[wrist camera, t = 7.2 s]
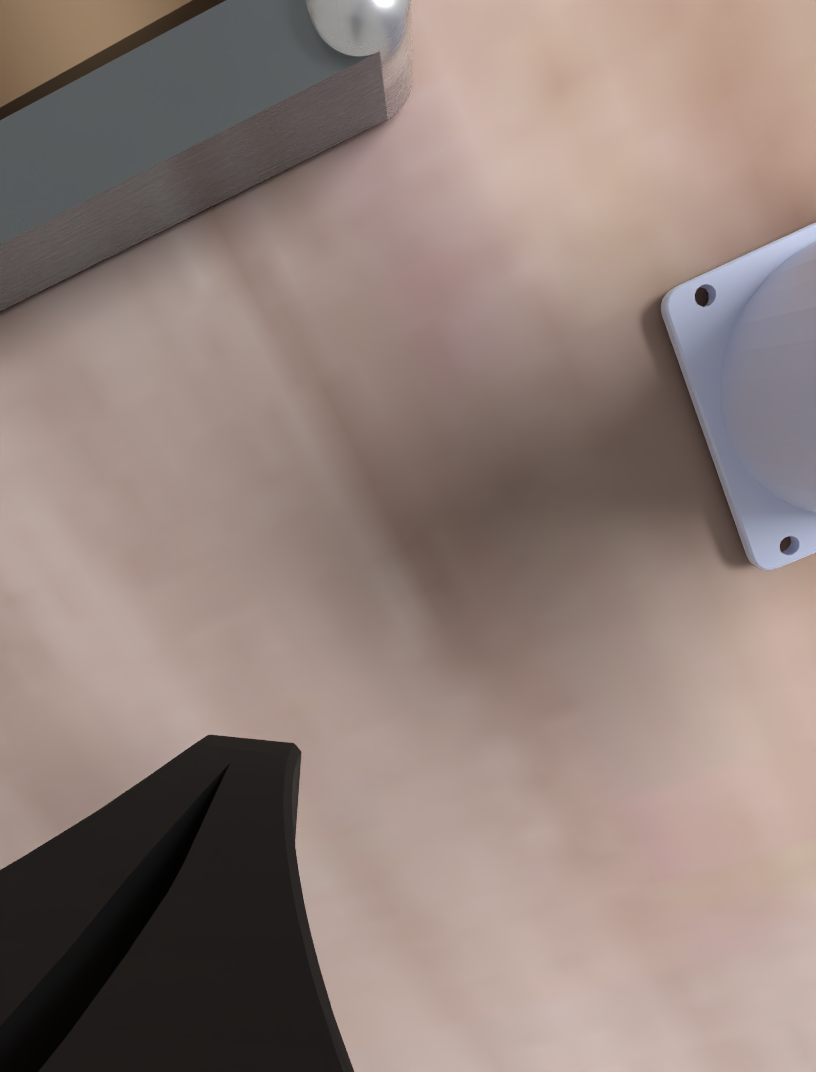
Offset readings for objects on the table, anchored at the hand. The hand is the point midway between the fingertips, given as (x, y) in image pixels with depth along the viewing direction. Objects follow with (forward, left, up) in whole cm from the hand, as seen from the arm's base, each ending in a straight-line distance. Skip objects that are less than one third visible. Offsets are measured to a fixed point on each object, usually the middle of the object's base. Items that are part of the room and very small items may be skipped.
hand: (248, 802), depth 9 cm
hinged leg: (0, -12, -9) cm, 15 cm away
